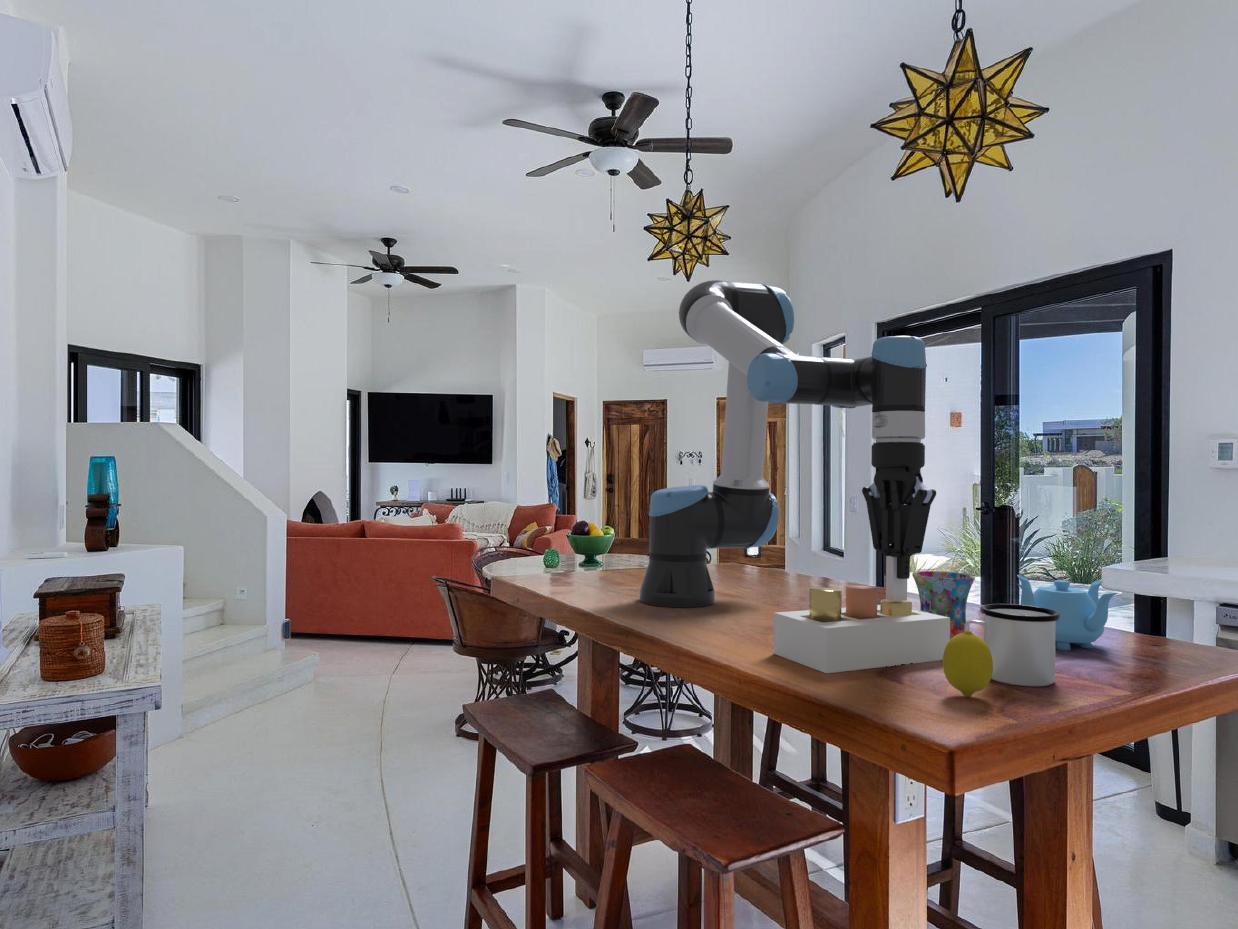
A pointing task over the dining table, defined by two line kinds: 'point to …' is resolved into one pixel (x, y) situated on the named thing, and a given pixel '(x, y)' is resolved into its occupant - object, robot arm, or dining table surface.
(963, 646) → the lemon
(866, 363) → the robot arm
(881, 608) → the knob far
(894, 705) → the dining table surface
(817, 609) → the knob near
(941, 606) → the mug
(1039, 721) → the dining table surface
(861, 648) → the block
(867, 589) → the knob mid
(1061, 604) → the teapot
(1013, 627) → the mug
